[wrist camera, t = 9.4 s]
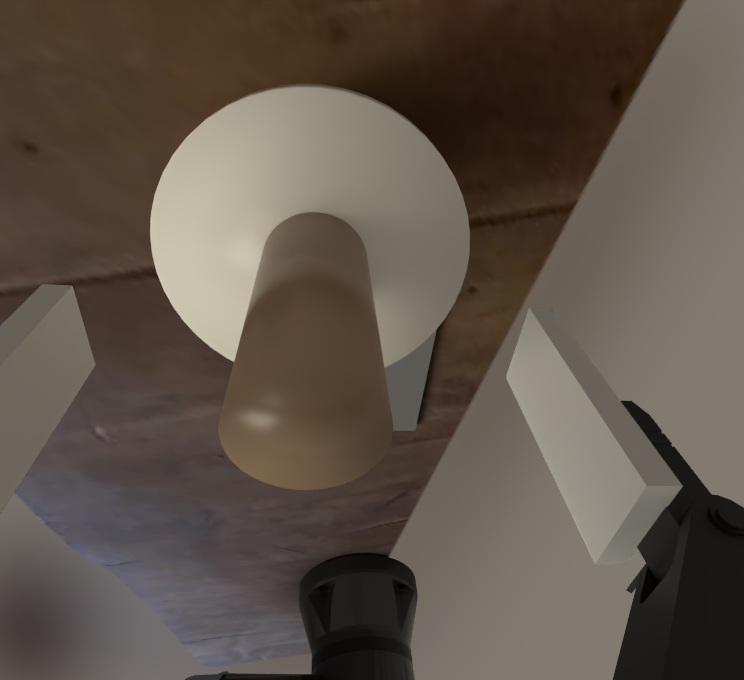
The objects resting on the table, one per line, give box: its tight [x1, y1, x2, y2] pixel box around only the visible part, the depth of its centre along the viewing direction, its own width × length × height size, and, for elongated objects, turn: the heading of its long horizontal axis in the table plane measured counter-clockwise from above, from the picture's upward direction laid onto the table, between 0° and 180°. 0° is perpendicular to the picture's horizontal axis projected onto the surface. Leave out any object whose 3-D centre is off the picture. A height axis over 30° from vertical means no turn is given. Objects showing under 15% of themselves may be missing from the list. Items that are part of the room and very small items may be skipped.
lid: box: [150, 84, 470, 490], centre depth 15 cm, size 12×12×10 cm
